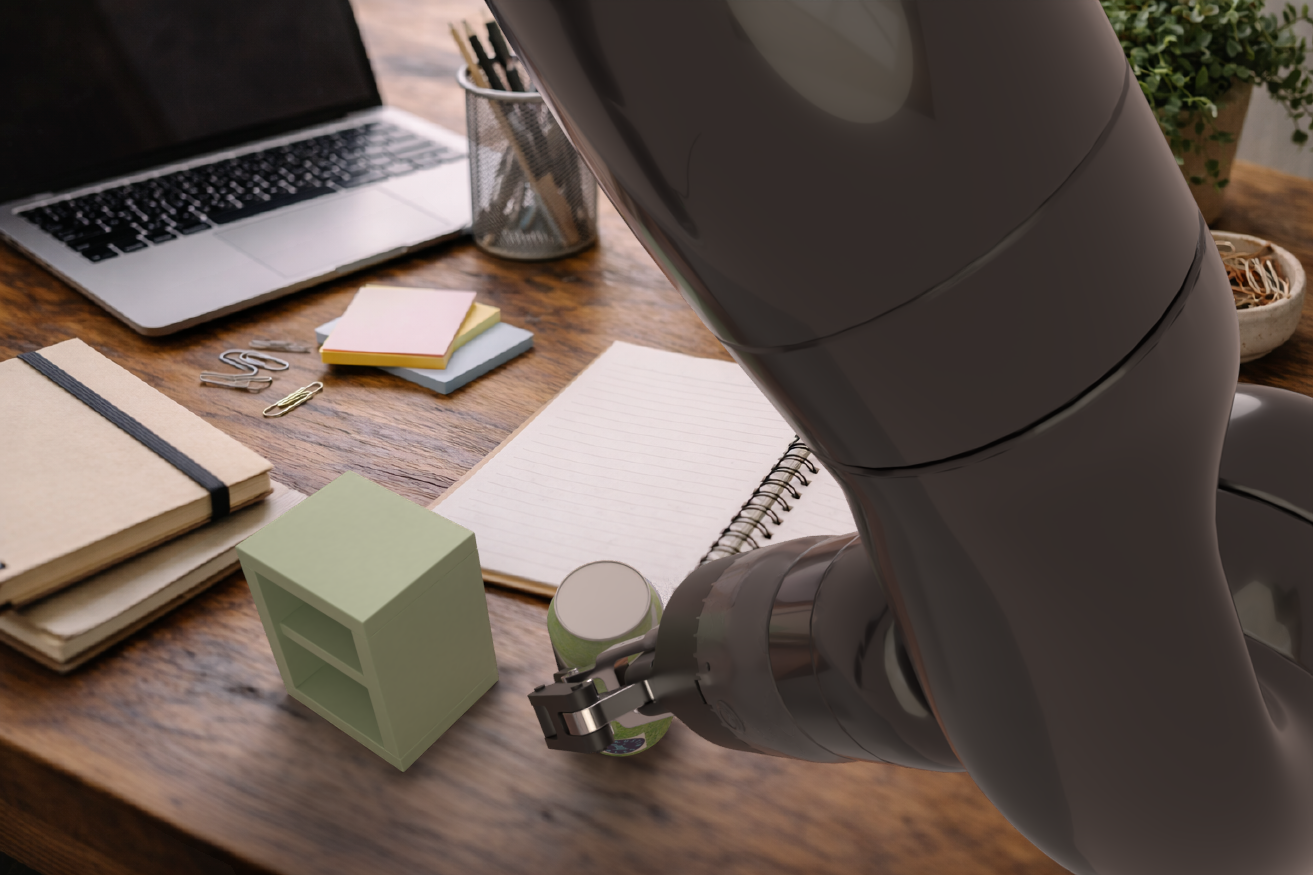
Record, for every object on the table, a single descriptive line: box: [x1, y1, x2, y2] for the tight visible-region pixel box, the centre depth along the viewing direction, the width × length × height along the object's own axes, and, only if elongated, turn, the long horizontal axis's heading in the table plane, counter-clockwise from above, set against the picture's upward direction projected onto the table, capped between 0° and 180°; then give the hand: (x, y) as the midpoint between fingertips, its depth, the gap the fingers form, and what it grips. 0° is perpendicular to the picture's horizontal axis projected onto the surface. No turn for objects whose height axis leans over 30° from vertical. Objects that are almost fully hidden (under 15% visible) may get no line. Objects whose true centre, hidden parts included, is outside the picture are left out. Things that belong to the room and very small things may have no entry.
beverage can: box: [546, 559, 674, 757], centre depth 54 cm, size 6×7×12 cm
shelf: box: [234, 469, 500, 773], centre depth 57 cm, size 8×10×12 cm
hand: (641, 656), depth 50 cm, fingers open, 8 cm apart
